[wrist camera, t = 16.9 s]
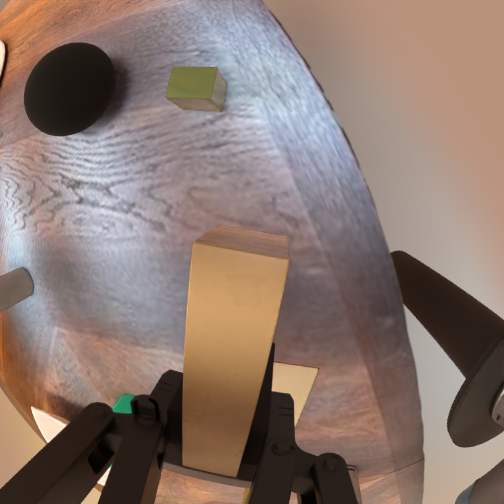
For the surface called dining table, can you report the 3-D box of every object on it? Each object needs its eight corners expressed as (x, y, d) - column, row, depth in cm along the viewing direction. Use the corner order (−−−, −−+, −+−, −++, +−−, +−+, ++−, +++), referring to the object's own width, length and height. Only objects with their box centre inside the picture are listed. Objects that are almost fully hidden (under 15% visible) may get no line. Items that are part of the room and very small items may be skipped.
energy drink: (323, 469, 34) (327, 527, 23) (355, 461, 33) (364, 519, 22) (327, 481, 35) (330, 534, 24) (357, 474, 34) (365, 527, 23)
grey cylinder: (36, 281, 31) (-14, 307, 21) (30, 301, 32) (-15, 328, 22) (20, 261, 31) (-30, 282, 21) (15, 281, 32) (-31, 304, 22)
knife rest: (227, 84, 23) (217, 66, 19) (222, 112, 24) (210, 99, 20) (188, 82, 23) (172, 66, 19) (182, 109, 24) (164, 97, 20)
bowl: (157, 485, 41) (149, 504, 36) (70, 448, 43) (59, 462, 37) (140, 429, 36) (127, 453, 30) (39, 383, 37) (23, 398, 32)
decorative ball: (115, 145, 26) (51, 136, 16) (57, 135, 26) (-3, 129, 16) (145, 60, 23) (94, 22, 13) (82, 60, 23) (29, 36, 14)
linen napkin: (318, 368, 29) (318, 368, 29) (285, 447, 33) (285, 448, 33) (187, 343, 30) (187, 344, 30) (183, 428, 34) (183, 428, 34)
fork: (211, 207, 14) (140, 233, 7) (313, 225, 14) (347, 270, 6) (190, 446, 19) (165, 516, 12) (251, 459, 19) (240, 533, 11)
